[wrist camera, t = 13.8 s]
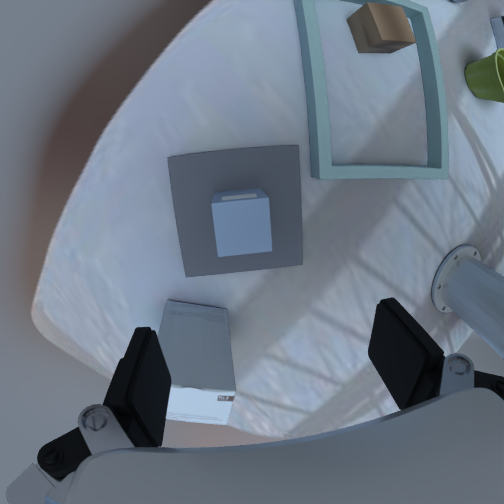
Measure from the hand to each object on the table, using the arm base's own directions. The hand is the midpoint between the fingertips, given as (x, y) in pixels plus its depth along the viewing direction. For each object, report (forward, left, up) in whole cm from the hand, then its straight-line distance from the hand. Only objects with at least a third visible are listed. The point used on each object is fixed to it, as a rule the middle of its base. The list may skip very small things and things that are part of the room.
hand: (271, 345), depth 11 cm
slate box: (0, 0, -21) cm, 21 cm away
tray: (-18, -16, -22) cm, 33 cm away
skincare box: (+7, +14, -23) cm, 27 cm away
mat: (0, 0, -22) cm, 22 cm away
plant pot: (-39, -20, -23) cm, 49 cm away
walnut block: (-18, -22, -22) cm, 36 cm away
